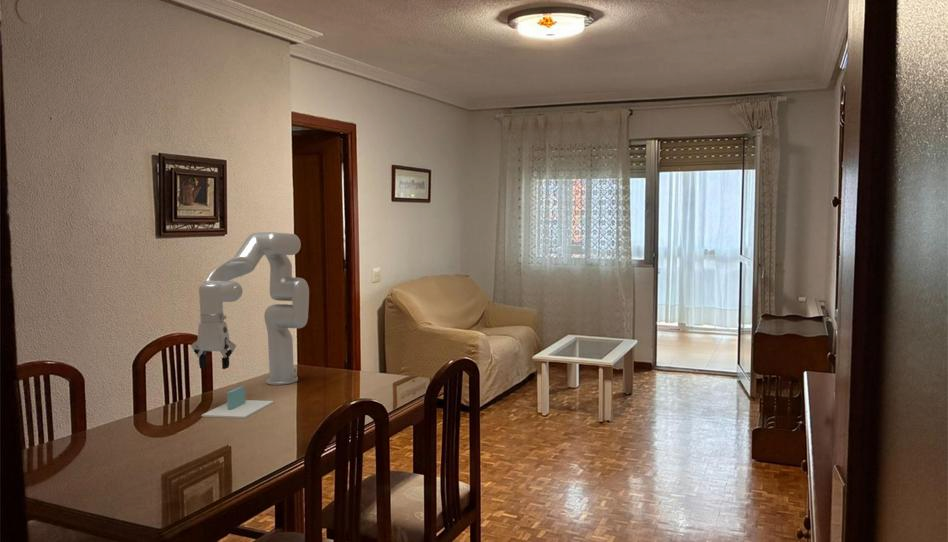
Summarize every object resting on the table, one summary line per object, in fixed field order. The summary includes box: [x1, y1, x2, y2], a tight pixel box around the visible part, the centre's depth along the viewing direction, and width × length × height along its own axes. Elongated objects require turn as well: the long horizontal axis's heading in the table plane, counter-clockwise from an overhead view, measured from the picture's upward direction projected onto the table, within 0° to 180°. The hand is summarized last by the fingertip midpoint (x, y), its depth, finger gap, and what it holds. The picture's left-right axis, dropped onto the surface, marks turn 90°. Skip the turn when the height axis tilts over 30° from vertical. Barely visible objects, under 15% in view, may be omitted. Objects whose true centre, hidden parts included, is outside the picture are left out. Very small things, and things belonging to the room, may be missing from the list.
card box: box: [226, 385, 246, 410], centre depth 247 cm, size 9×2×6 cm, turn 169°
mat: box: [201, 399, 275, 419], centre depth 245 cm, size 20×16×1 cm
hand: (214, 367), depth 248 cm, fingers open, 8 cm apart
